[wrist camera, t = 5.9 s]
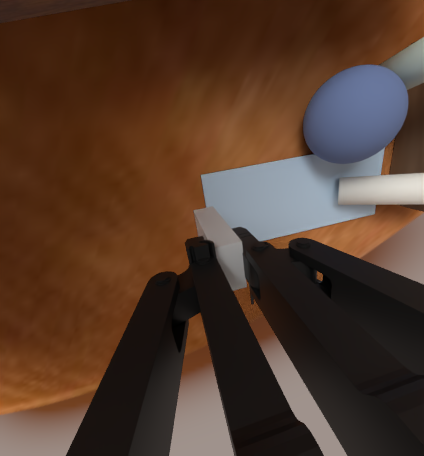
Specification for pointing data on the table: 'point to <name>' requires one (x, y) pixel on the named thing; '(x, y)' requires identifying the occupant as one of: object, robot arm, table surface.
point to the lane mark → (286, 194)
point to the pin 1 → (408, 64)
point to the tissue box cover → (44, 7)
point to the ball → (355, 114)
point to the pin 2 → (382, 190)
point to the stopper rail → (411, 140)
